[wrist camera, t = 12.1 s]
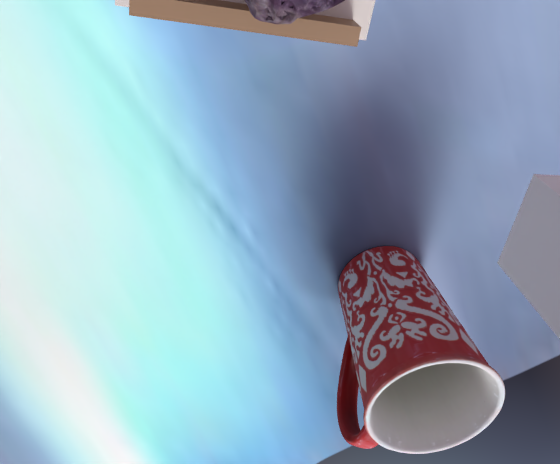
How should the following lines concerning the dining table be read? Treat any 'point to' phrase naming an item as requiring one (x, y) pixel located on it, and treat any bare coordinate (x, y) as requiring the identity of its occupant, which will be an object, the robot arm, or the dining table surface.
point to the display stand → (236, 15)
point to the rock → (287, 9)
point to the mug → (408, 360)
